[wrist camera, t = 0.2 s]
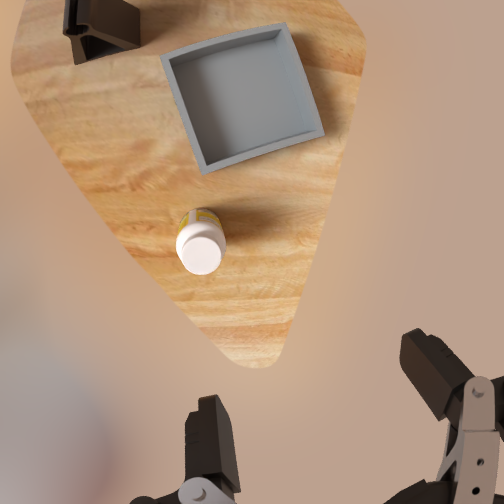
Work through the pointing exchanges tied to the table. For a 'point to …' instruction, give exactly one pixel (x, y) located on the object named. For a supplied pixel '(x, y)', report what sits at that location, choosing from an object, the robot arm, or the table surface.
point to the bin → (242, 95)
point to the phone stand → (100, 28)
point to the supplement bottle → (200, 241)
